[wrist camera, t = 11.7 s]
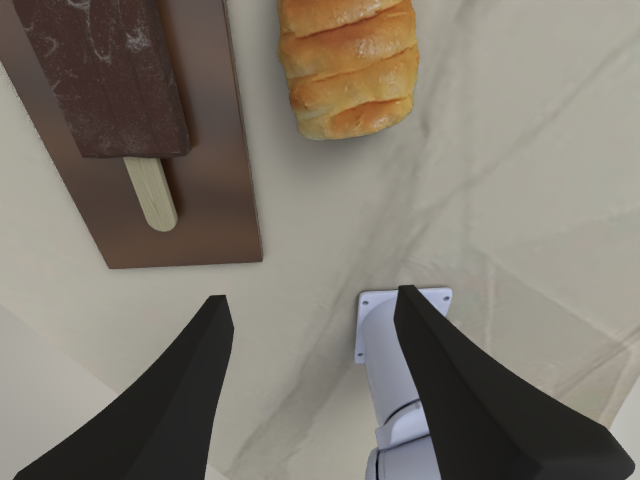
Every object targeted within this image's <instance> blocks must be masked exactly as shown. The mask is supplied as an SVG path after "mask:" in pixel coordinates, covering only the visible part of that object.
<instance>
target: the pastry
mask: <svg viewBox="0 0 640 480" xmlns="http://www.w3.org/2000/svg"><path fill="white" fill-rule="evenodd" d="M277 5H278V17H279V22H280V38H279V42H278V47H277V55H278V58H279V61H280V63H281V65H282V66H283V68H284V71H285V75H286V80H287V84H288V88H289V91H290V92H289V100H290V104H291V107H292V109H293V111H294V112H295V115H296V118H297V129H298V131H299V133H300V134H301V135H302V136H304V137H305V138H308V139H313V140H325V139H334V140H339V139H343V138H352V137H358V136H363V135H370V134H374V133H376V132H378V131H380V130H382V129H383V128H389V127H392V126H394V125H396V124H397V123H399V122H401V121H402V120H403V119H404V118H405V117H406V116H407V115H408V114H409V113H410V112H411V110H412V107H413V91H414V87H415V85H416V80H417V71H418V64H419V52H418V46H417V39H416V21H415V12H414V10H413V8H412V4H411V0H277Z"/></svg>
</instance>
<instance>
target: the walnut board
mask: <svg viewBox="0 0 640 480" xmlns="http://www.w3.org/2000/svg"><path fill="white" fill-rule="evenodd" d="M156 2H157V6H158V11H159V15H160V19H161V23H162V27H163V31H164V35H165V39H166V44H167V48H168V52H169V56H170V60H171V64H172V68H173V72H174V76H175V81H176V85H177V89H178V93H179V97H180V101H181V105H182V109H183V114H184V118H185V122H186V126H187V130H188V134H189V138H190V142H191V146H192V150H191V151H190V152H189V153H188V154H187V155H186V156H180V157H173V158H167V159H160V161H161V165H162V168H163V171H164V174H165V178H166V181H167V184H168V187H169V191H170V194H171V197H172V200H173V204H174V207H175V210H176V213H177V217H178V221H177V223H176V225H175V226H174V228H173V229H171V230H170V231H165V232H164V231H158V230H156V229H154V228H152V227H151V226H150V225H149V224H148V222H147V220H146V217H145V215H144V212H143V209H142V207H141V204H140V202H139V199H138V196H137V194H136V191H135V188H134V186H133V183H132V180H131V178H130V175H129V172H128V170H127V167H126V164H125V162H124V159H123V157H119V158H108V159H99V158H83V157H82V156H81V154H80V151H79V149H78V147H77V145H76V143H75V140H74V138H73V136H72V134H71V132H70V129H69V127H68V125H67V123H66V121H65V118H64V116H63V114H62V112H61V109H60V107H59V105H58V103H57V101H56V98H55V96H54V94H53V92H52V90H51V87H50V85H49V83H48V81H47V79H46V76H45V74H44V72H43V70H42V68H41V65H40V63H39V61H38V59H37V57H36V54H35V52H34V50H33V48H32V46H31V43H30V41H29V39H28V37H27V35H26V32H25V30H24V28H23V26H22V24H21V21H20V19H19V17H18V15H17V13H16V10H15V8H14V6H13V4H12V1H11V0H0V60H1V62H2V64H3V66H4V68H5V70H6V72H7V74H8V76H9V78H10V79H11V81H12V83H13V85H14V87H15V89H16V91H17V93H18V95H19V97H20V99H21V101H22V102H23V104H24V106H25V108H26V110H27V112H28V114H29V116H30V118H31V120H32V122H33V124H34V126H35V127H36V129H37V131H38V133H39V135H40V137H41V139H42V141H43V143H44V145H45V147H46V149H47V151H48V152H49V154H50V156H51V158H52V160H53V162H54V164H55V166H56V168H57V170H58V172H59V174H60V176H61V177H62V179H63V181H64V183H65V185H66V187H67V189H68V191H69V193H70V195H71V197H72V199H73V200H74V202H75V204H76V206H77V208H78V210H79V212H80V214H81V216H82V218H83V220H84V222H85V224H86V225H87V227H88V229H89V231H90V233H91V235H92V237H93V239H94V241H95V243H96V245H97V247H98V249H99V250H100V252H101V254H102V256H103V258H104V260H105V262H106V264H107V266H108V268H109V269H126V268H146V267H167V266H188V265H209V264H230V263H250V262H262V261H263V256H264V255H263V249H262V242H261V235H260V228H259V221H258V215H257V208H256V201H255V194H254V188H253V181H252V174H251V167H250V160H249V154H248V147H247V140H246V133H245V127H244V120H243V113H242V106H241V99H240V93H239V86H238V79H237V72H236V66H235V59H234V52H233V45H232V39H231V32H230V25H229V18H228V11H227V5H226V0H156Z"/></svg>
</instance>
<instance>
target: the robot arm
mask: <svg viewBox="0 0 640 480" xmlns="http://www.w3.org/2000/svg"><path fill="white" fill-rule="evenodd" d="M452 296H453V291H452V290H451V288H449V287H444V288H426V289H417V288H416V287H415V286H414V285H402V286H399V289H398V290H388V291H369V292H362V293H361V294H360V295H359V303H358V315H357V328H356V340H355V353H354V361H355V363H357V364H363V363H365V366H366V371H367V376H368V380H369V385H370V390H371V395H372V399H373V404H374V409H375V414H376V418H377V421H378V424H379V427H380V428H378V429H376V430H375V434H376V439H377V444H378V447H376V448H375V449H373V450H372V451H371V453H370V455H369V458H368V463H367V468H366V474H365V480H625V479H627V478H628V477H629V476H630V475H631V474H632V473H633V472H634V470H635V463H634V461H633V460H632V459H631V458H630V456H629V455H628V454H627V453H626V451H625V450H624V449H623V448H622V446H621V445H620V444H619V443H618V441H617V440H616V439H615V438H614V437H613V436H612V434H611V433H610V432H609V431H608V430H607V428H606V427H604V426H603V425H601V424H599V423H597V422H595V421H593V420H591V419H590V418H588V417H586V416H584V415H582V414H580V413H578V412H576V411H575V410H573V409H571V408H569V407H567V406H565V405H564V404H562V403H560V402H559V401H557V400H555V399H554V398H552V397H550V396H548V395H547V394H545V393H543V392H542V391H540V390H539V389H537V388H535V387H534V386H532V385H531V384H529V383H527V382H526V381H524V380H523V379H522V378H520V377H519V376H517V375H516V374H514V373H513V372H511V371H510V370H508V369H507V368H505V367H504V366H503V365H501V364H500V363H498V362H497V361H496V360H494V359H493V358H492V357H491V356H489V355H488V354H487V353H485V352H484V351H483V350H481V349H480V348H479V347H478V346H476V345H475V344H474V343H473V342H472V341H471V340H469V339H468V338H467V337H466V336H465V335H464V334H462V333H461V332H460V331H459V330H458V329H457V328H456V327H455V326H454V325H453V324H452V323H451V322H450V321H449V320H447V319H446V314H447V311H448V308H449V305H450V302H451V299H452ZM444 297H445V298H444ZM364 301H366V302H364ZM233 334H234V326H233V322H232V318H231V314H230V310H229V306H228V303H227V299H226V295H212V296H210V297H209V298H208V299H207V300H206V301H205V303H204V304H203V305H202V307H201V308H200V309H199V311H198V312H197V313H196V314H195V316H194V317H193V318H192V320H191V321H190V322H189V323H188V325H187V326H186V327H185V328H184V329H183V331H182V332H181V333H180V334H179V335H178V337H177V338H176V339H175V340H174V341H173V343H172V344H171V345H170V346H169V347H168V348H167V349H166V350H165V351H164V353H163V354H162V355H161V356H160V357H159V358H158V359H157V360H156V361H155V362H154V363H153V364H152V365H151V366H150V367H149V368H148V369H147V370H146V371H145V372H144V373H143V374H142V375H141V376H140V377H139V378H138V379H137V380H136V381H135V382H134V383H133V384H132V385H131V386H130V387H129V388H128V389H126V390H125V391H124V392H123V393H122V394H121V395H120V396H119V397H118V398H116V399H115V400H114V401H113V402H112V403H110V404H109V405H108V406H107V407H106V408H105V409H104V410H102V411H101V412H100V413H99V414H97V415H96V416H95V417H94V418H92V419H91V420H90V421H88V422H87V423H86V424H85V425H83V426H82V427H81V428H79V429H78V430H77V431H76V432H74V433H73V434H72V435H70V436H69V437H68V438H66V439H65V440H64V441H62V442H61V443H59V444H58V445H57V446H55V447H54V448H52V449H51V450H50V451H48V452H47V453H45V454H44V455H42V456H41V457H40V458H38V459H37V460H35V461H34V462H32V463H31V464H30V465H28V466H27V467H25V468H24V469H22V470H21V471H19V472H18V473H17V474H16V476H15V477H14V479H13V480H204V478H205V471H206V465H207V458H208V452H209V445H210V439H211V433H212V427H213V421H214V416H215V412H216V408H217V404H218V400H219V396H220V392H221V389H222V385H223V381H224V377H225V374H226V370H227V366H228V362H229V358H230V354H231V349H232V342H233Z"/></svg>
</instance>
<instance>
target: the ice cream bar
mask: <svg viewBox="0 0 640 480" xmlns="http://www.w3.org/2000/svg"><path fill="white" fill-rule="evenodd" d="M11 1H12V4H13V6H14V8H15V10H16V13H17V15H18V17H19V19H20V21H21V24H22V26H23V28H24V30H25V32H26V35H27V37H28V39H29V41H30V43H31V46H32V48H33V50H34V52H35V54H36V57H37V59H38V61H39V63H40V65H41V68H42V70H43V72H44V74H45V76H46V79H47V81H48V83H49V85H50V87H51V90H52V92H53V94H54V96H55V98H56V101H57V103H58V105H59V107H60V109H61V112H62V114H63V116H64V118H65V121H66V123H67V125H68V127H69V129H70V132H71V134H72V136H73V138H74V140H75V143H76V145H77V147H78V149H79V151H80V154H81V156H82V157H83V158H99V159H108V158H119V157H123V159H124V162H125V164H126V167H127V170H128V172H129V175H130V178H131V180H132V183H133V186H134V188H135V191H136V194H137V196H138V199H139V202H140V204H141V207H142V209H143V212H144V215H145V217H146V220H147V222H148V224H149V225H150V226H151V227H152V228H154V229H156V230H158V231H164V232H165V231H170V230H171V229H173V228H174V226H175V225H176V223H177V221H178V217H177V213H176V210H175V207H174V204H173V200H172V197H171V194H170V191H169V187H168V184H167V181H166V178H165V174H164V171H163V168H162V165H161V161H160V159H167V158H173V157H180V156H186V155H187V154H188V153H189V152H190V151H191V150H192V146H191V142H190V138H189V134H188V130H187V126H186V122H185V118H184V114H183V109H182V105H181V101H180V97H179V93H178V89H177V85H176V81H175V76H174V72H173V68H172V64H171V60H170V56H169V52H168V48H167V44H166V39H165V35H164V31H163V27H162V23H161V19H160V15H159V11H158V6H157V2H156V0H11Z"/></svg>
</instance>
